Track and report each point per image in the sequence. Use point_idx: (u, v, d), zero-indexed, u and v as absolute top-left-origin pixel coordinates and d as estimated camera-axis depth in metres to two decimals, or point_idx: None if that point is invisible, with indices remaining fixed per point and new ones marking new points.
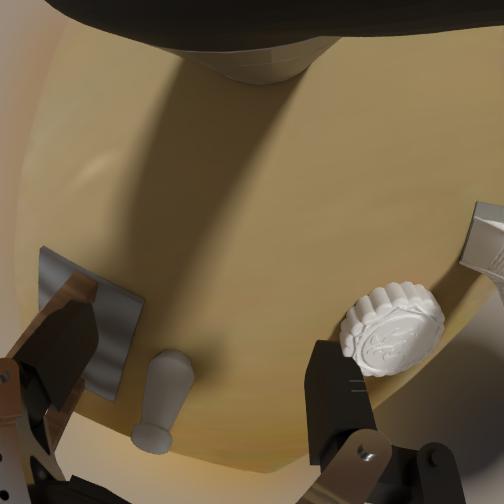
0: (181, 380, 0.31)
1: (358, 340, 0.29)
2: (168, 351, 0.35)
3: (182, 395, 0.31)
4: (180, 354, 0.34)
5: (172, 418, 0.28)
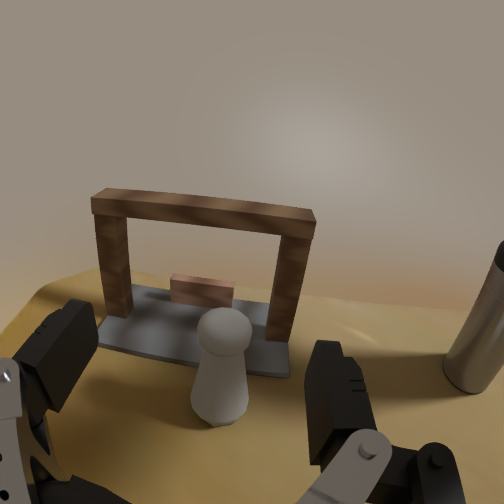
0: (243, 399, 0.26)
1: None
2: None
3: (233, 397, 0.25)
4: None
5: (232, 370, 0.24)
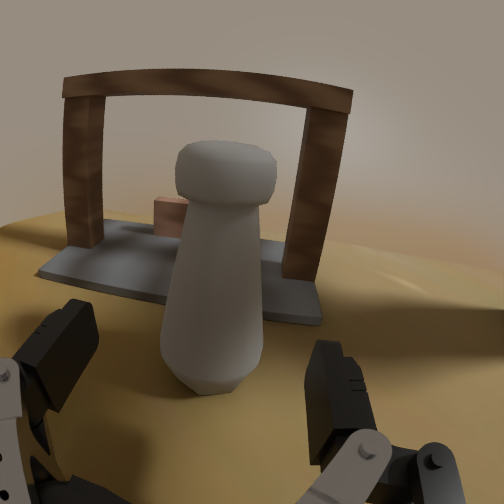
0: (254, 335, 0.15)
1: None
2: None
3: (237, 322, 0.14)
4: None
5: (237, 253, 0.13)
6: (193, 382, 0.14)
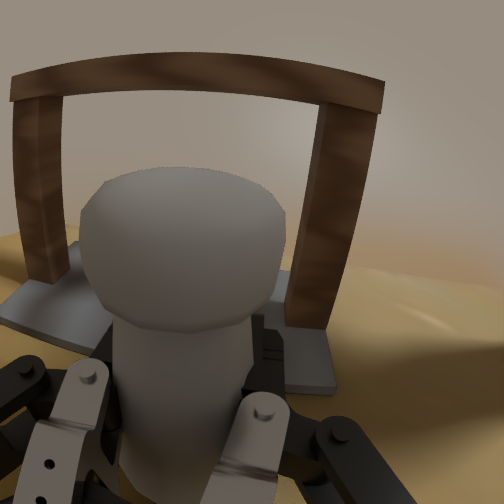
0: None
1: None
2: None
3: None
4: None
5: (209, 390, 0.06)
6: None
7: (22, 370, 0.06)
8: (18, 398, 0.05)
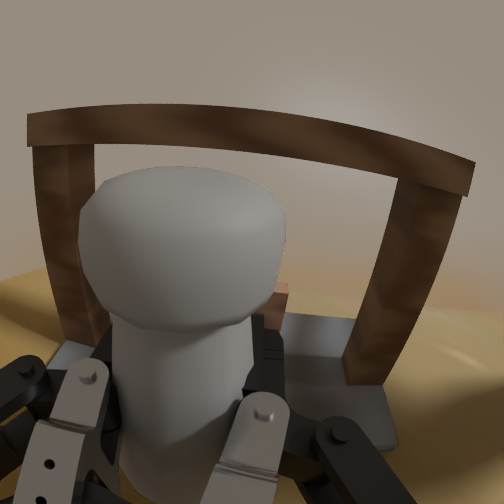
0: None
1: None
2: None
3: None
4: None
5: (209, 390, 0.06)
6: None
7: (22, 370, 0.06)
8: (18, 398, 0.05)
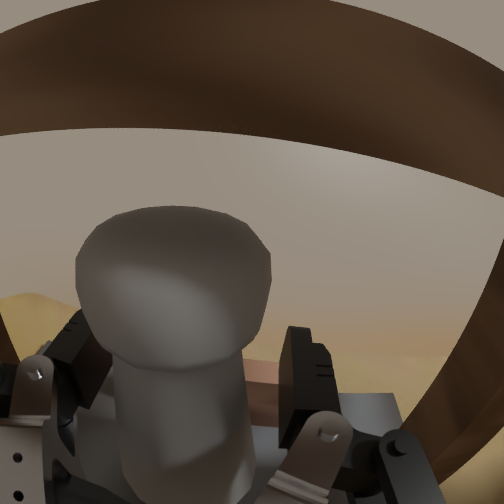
0: (242, 475, 0.09)
1: None
2: None
3: (214, 478, 0.08)
4: None
5: (203, 415, 0.07)
6: None
7: None
8: None
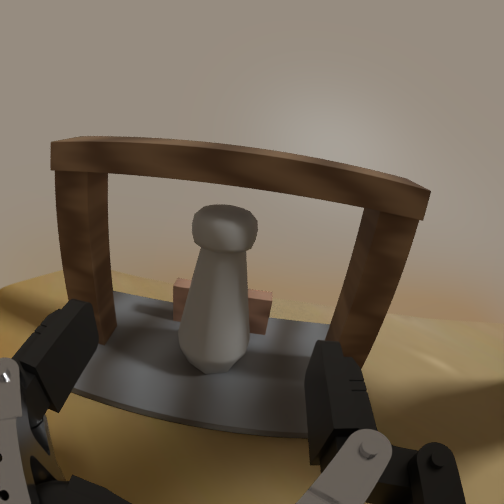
0: (243, 331, 0.22)
1: None
2: None
3: (231, 322, 0.21)
4: None
5: (232, 279, 0.20)
6: (201, 363, 0.22)
7: None
8: None
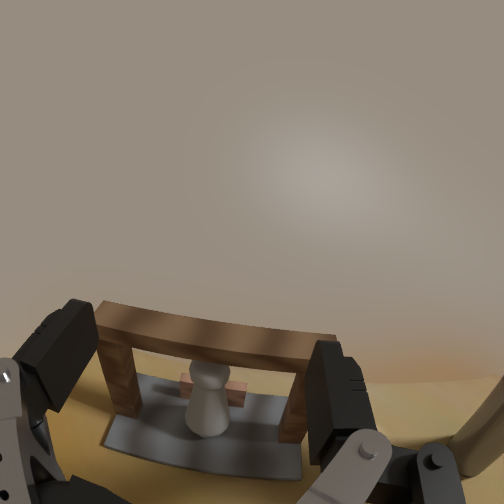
0: (225, 419, 0.33)
1: None
2: None
3: (217, 417, 0.31)
4: None
5: (215, 398, 0.30)
6: (200, 435, 0.32)
7: None
8: None
